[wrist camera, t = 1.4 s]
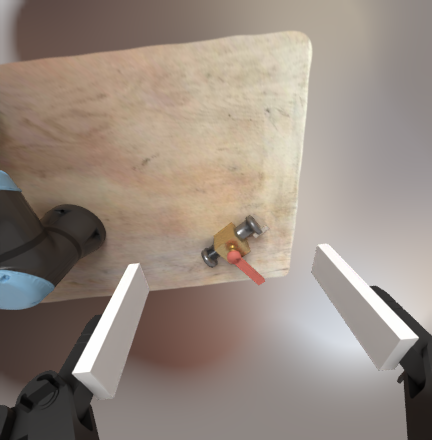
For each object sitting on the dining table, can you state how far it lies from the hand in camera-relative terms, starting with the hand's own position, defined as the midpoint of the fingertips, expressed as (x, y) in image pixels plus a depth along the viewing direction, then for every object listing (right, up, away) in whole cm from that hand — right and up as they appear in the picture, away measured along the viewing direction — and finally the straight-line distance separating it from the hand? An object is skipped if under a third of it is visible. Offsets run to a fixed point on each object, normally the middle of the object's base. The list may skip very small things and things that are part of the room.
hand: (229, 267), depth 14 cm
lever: (+7, -9, +37) cm, 38 cm away
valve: (+5, -2, +43) cm, 43 cm away
